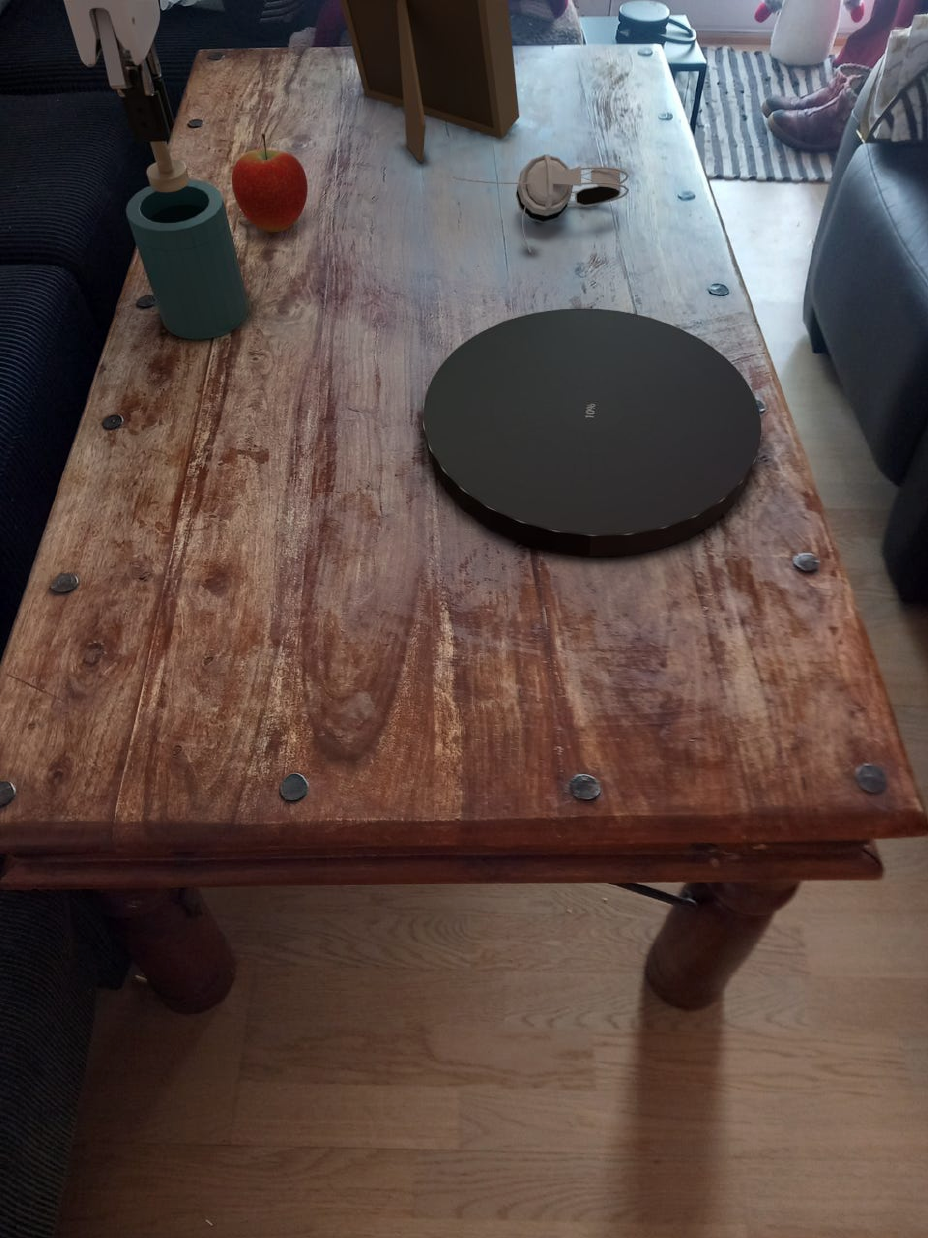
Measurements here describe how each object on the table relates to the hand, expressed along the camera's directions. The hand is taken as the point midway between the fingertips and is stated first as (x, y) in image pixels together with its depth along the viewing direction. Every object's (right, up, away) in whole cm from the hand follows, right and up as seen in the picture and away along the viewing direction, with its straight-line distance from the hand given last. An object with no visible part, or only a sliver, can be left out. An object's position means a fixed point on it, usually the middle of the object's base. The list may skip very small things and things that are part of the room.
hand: (154, 132), depth 81 cm
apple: (+6, +2, +25) cm, 25 cm away
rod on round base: (0, -3, +4) cm, 5 cm away
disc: (+39, -26, +3) cm, 47 cm away
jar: (0, -11, +15) cm, 19 cm away
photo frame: (+21, +20, +37) cm, 48 cm away
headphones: (+36, +1, +23) cm, 43 cm away
